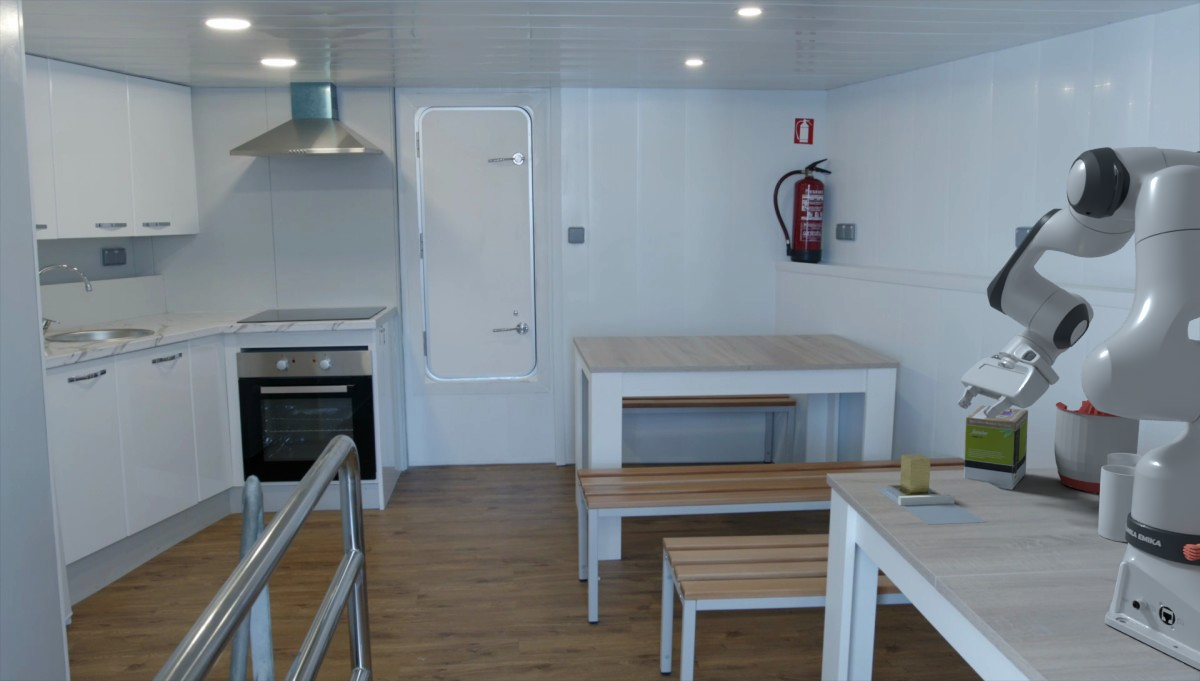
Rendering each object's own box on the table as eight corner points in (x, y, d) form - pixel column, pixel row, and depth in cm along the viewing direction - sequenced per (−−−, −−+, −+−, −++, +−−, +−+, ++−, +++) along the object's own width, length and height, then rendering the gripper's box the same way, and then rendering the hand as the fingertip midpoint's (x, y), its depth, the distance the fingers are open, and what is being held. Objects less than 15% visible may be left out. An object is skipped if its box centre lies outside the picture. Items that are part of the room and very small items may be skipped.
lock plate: (986, 527, 157) (986, 513, 157) (928, 529, 156) (929, 516, 156) (925, 491, 179) (926, 479, 179) (875, 493, 178) (875, 481, 177)
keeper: (941, 500, 169) (942, 494, 169) (904, 502, 168) (904, 496, 168) (922, 489, 177) (922, 483, 177) (886, 490, 176) (886, 485, 176)
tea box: (978, 467, 197) (981, 403, 195) (1026, 475, 191) (1030, 409, 190) (961, 483, 185) (965, 415, 183) (1012, 491, 179) (1017, 421, 177)
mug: (1141, 545, 148) (1146, 477, 147) (1096, 538, 151) (1101, 472, 150) (1139, 528, 157) (1144, 463, 155) (1096, 522, 160) (1101, 458, 159)
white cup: (1094, 502, 172) (1098, 453, 171) (1131, 501, 173) (1135, 452, 171) (1122, 515, 164) (1126, 463, 163) (1161, 513, 165) (1165, 462, 164)
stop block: (928, 498, 171) (930, 459, 170) (909, 499, 170) (911, 459, 169) (918, 492, 175) (920, 453, 174) (899, 493, 174) (901, 454, 173)
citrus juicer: (1087, 471, 194) (1094, 383, 191) (1154, 494, 177) (1162, 398, 174) (1027, 476, 190) (1033, 386, 187) (1090, 500, 173) (1097, 401, 171)
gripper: (983, 343, 182) (937, 390, 182) (1045, 357, 162) (993, 410, 162) (1001, 364, 183) (955, 411, 183) (1065, 380, 163) (1013, 433, 163)
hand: (973, 411), depth 172 cm, fingers open, 8 cm apart
